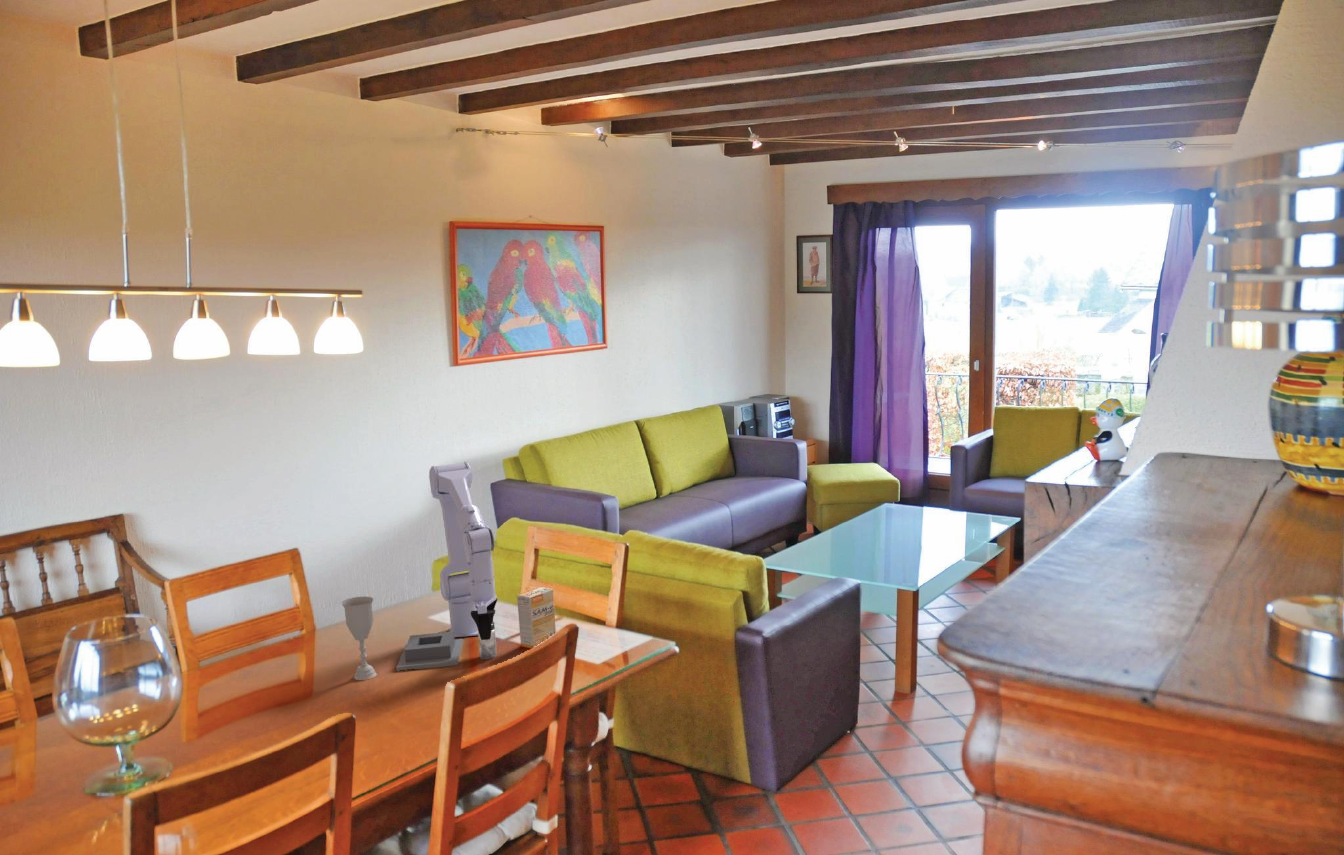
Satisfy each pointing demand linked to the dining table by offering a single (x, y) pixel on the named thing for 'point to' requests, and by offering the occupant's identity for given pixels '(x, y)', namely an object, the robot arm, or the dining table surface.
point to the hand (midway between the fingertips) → (486, 634)
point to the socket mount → (430, 651)
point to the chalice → (360, 629)
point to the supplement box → (536, 616)
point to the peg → (488, 645)
